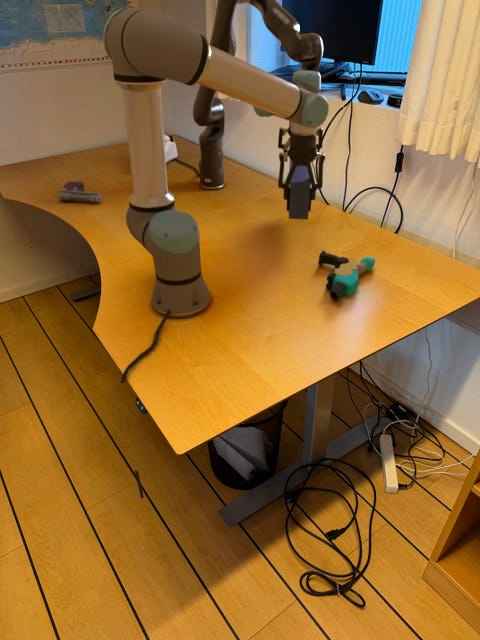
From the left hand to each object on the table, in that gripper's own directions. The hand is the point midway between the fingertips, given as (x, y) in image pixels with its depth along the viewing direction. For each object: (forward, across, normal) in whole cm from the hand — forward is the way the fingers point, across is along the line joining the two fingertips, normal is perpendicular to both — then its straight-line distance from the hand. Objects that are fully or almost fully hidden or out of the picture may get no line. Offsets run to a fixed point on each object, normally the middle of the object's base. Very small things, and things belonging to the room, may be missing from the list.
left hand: (298, 209), depth 148 cm
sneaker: (+10, +62, -74) cm, 96 cm away
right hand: (-10, 0, -17) cm, 20 cm away
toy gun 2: (+10, -11, +25) cm, 29 cm away
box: (+2, 0, -9) cm, 9 cm away
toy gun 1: (+11, +82, -33) cm, 89 cm away
